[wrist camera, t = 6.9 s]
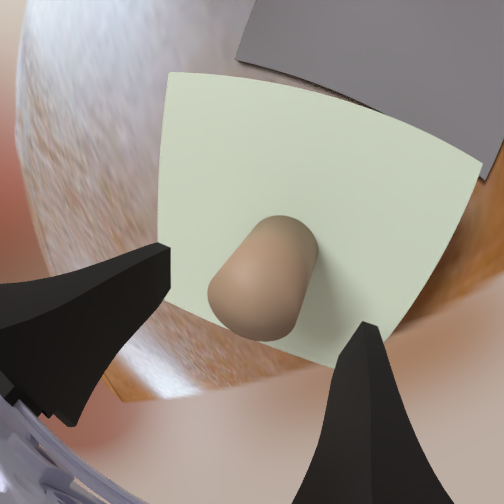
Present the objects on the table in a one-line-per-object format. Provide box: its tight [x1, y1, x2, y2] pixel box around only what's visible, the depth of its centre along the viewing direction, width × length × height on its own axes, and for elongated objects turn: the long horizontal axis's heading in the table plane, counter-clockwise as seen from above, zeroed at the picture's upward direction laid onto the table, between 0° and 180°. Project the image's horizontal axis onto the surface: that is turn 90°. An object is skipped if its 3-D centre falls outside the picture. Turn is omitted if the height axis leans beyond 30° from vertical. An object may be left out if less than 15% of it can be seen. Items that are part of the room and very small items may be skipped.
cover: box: [158, 72, 483, 369], centre depth 10 cm, size 13×13×5 cm
